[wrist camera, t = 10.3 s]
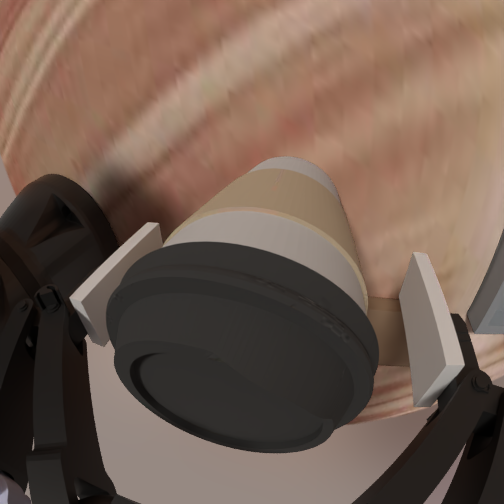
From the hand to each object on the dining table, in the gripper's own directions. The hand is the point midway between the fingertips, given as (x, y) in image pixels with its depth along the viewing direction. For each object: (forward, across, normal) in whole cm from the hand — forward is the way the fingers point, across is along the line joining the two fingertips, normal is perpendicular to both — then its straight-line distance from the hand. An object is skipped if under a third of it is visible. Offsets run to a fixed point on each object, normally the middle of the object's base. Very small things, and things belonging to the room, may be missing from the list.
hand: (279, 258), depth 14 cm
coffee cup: (+6, 0, 0) cm, 6 cm away
